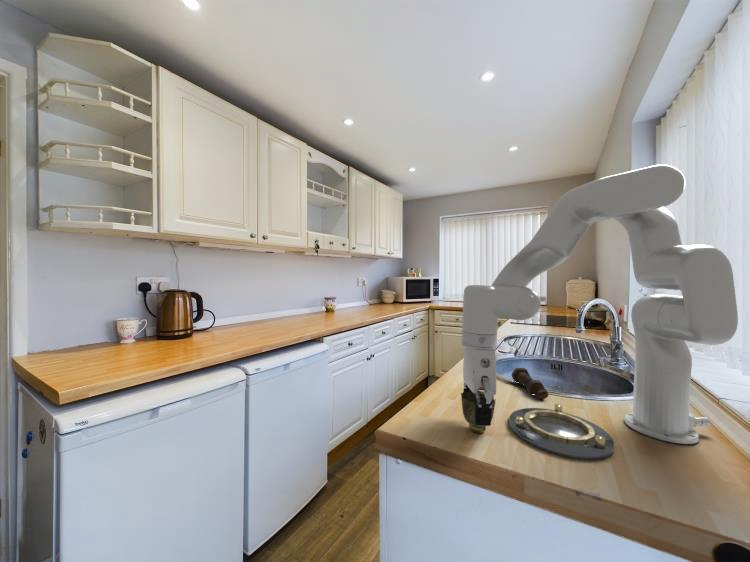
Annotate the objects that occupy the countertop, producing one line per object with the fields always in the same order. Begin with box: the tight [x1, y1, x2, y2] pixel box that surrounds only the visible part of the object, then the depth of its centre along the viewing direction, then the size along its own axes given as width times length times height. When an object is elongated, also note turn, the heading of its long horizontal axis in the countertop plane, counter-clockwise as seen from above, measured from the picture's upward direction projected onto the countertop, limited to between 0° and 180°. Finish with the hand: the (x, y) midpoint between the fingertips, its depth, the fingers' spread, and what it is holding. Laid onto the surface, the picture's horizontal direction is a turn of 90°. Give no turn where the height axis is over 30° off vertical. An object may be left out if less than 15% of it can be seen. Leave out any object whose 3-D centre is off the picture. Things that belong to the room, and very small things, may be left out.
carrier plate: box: [508, 403, 615, 461], centre depth 68 cm, size 20×20×3 cm
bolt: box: [511, 367, 549, 400], centre depth 93 cm, size 6×5×15 cm
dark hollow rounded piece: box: [460, 390, 496, 434], centre depth 69 cm, size 8×7×8 cm
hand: (475, 414), depth 69 cm, fingers open, 9 cm apart
